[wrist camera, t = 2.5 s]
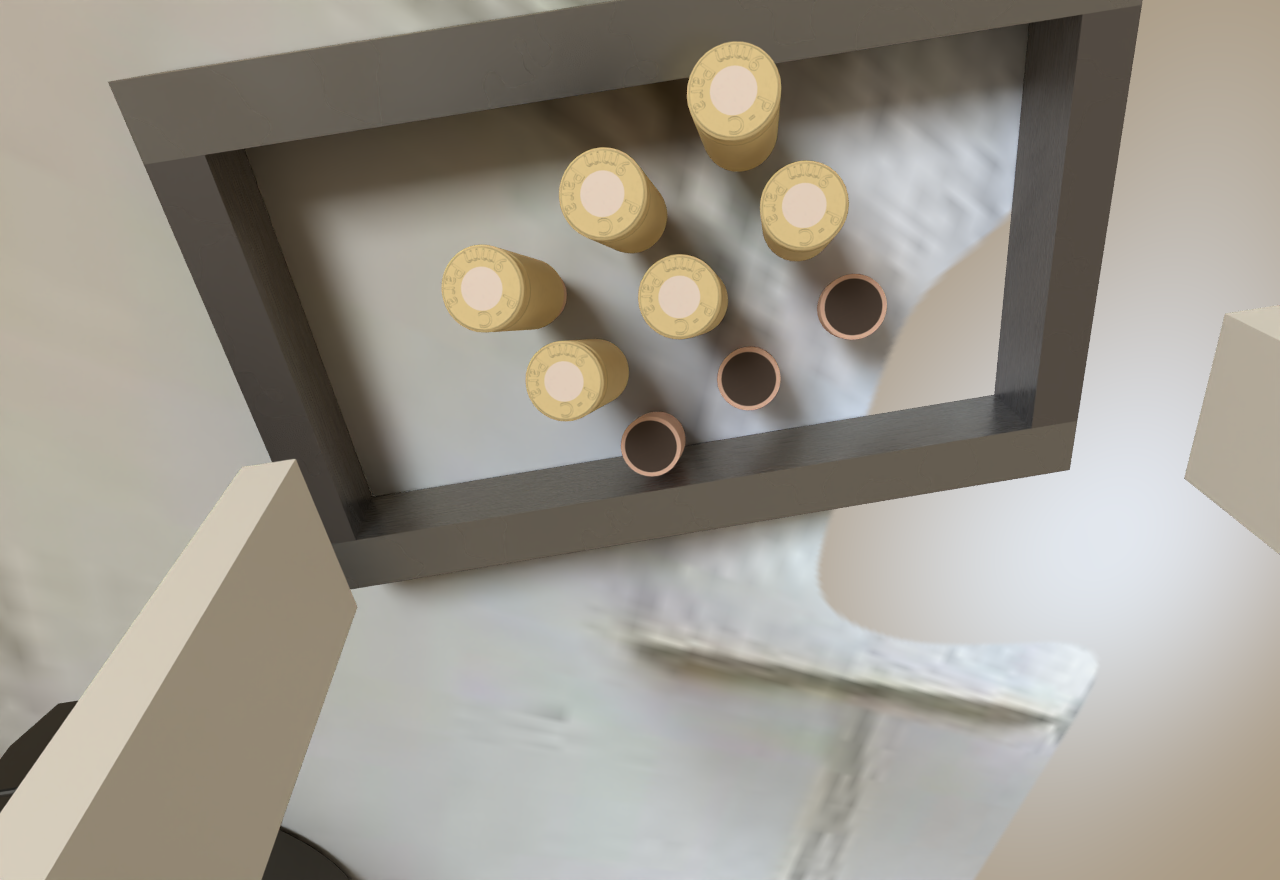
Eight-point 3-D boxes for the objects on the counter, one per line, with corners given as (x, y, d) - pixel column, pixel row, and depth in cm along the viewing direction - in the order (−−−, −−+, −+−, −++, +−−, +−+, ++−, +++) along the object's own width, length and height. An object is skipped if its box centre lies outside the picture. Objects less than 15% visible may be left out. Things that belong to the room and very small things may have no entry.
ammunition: (420, 290, 15) (668, 557, 18) (755, 21, 13) (956, 370, 16) (449, 227, 19) (646, 454, 22) (705, 17, 17) (874, 297, 21)
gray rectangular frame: (1030, 434, 23) (1069, 469, 21) (346, 547, 23) (328, 592, 21) (1094, -76, 17) (1155, -85, 15) (155, 73, 17) (108, 81, 15)
